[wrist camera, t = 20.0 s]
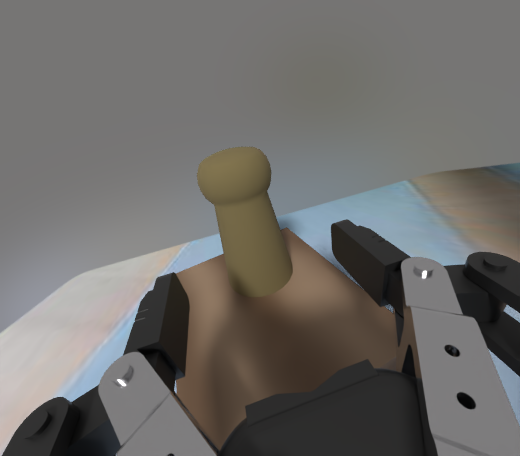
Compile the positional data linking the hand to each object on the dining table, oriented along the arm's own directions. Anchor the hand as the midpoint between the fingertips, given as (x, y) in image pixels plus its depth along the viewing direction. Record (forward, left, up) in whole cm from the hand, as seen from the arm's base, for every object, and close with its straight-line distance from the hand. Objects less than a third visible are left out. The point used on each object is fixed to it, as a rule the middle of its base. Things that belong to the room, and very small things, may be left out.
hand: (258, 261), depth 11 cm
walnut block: (0, -4, -13) cm, 13 cm away
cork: (-2, -7, -7) cm, 10 cm away
